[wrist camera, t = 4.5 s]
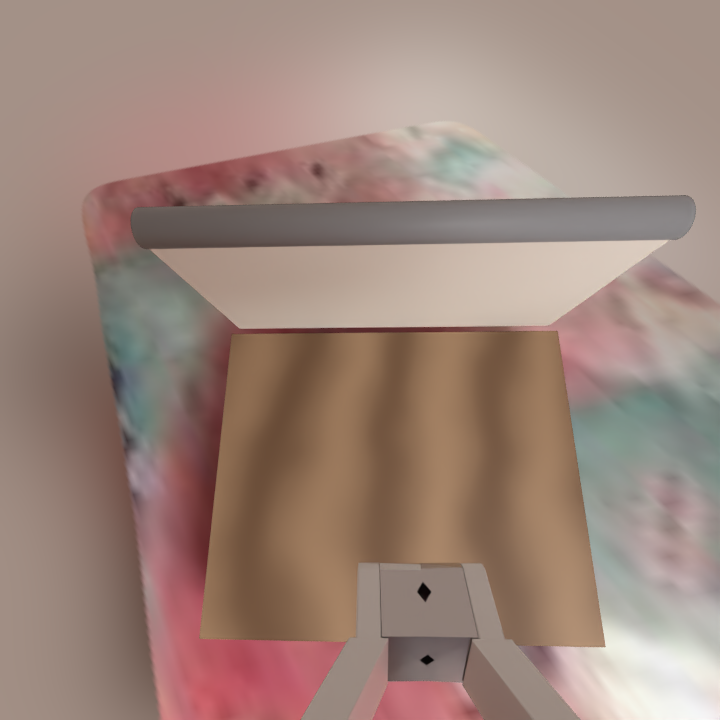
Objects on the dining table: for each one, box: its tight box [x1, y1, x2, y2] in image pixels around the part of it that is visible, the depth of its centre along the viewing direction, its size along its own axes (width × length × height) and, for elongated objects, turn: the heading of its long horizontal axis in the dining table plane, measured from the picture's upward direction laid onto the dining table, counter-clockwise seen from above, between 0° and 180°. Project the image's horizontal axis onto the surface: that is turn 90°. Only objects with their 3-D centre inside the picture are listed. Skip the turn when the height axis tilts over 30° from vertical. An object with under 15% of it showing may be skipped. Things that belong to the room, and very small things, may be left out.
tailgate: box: [131, 195, 696, 329], centre depth 21 cm, size 21×2×12 cm, turn 90°
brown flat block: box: [199, 331, 605, 647], centre depth 26 cm, size 22×18×4 cm
